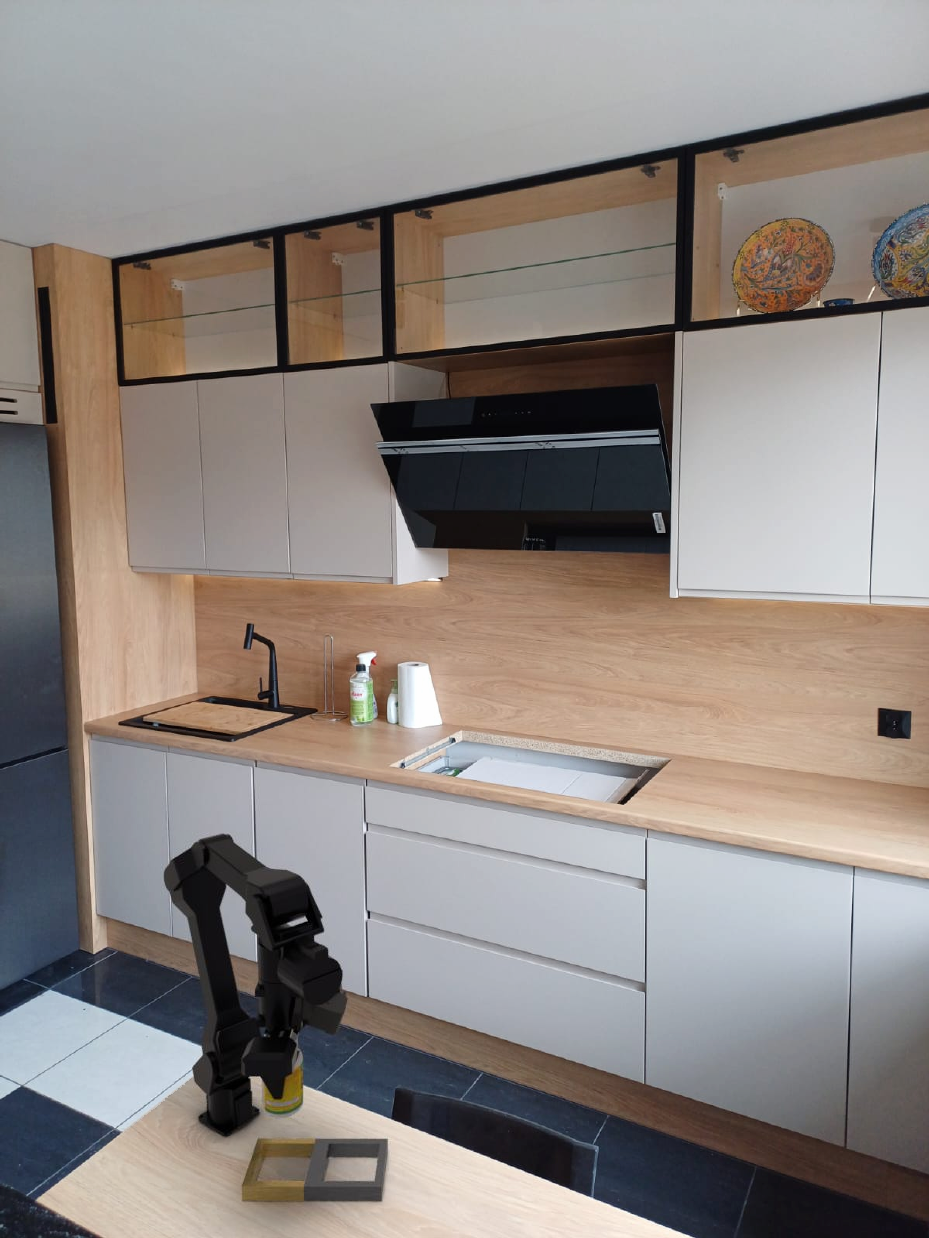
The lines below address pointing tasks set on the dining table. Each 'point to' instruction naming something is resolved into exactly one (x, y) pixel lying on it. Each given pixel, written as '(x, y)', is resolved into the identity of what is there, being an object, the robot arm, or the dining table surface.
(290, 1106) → the supplement bottle
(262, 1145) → the rectangular frame
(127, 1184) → the dining table surface
